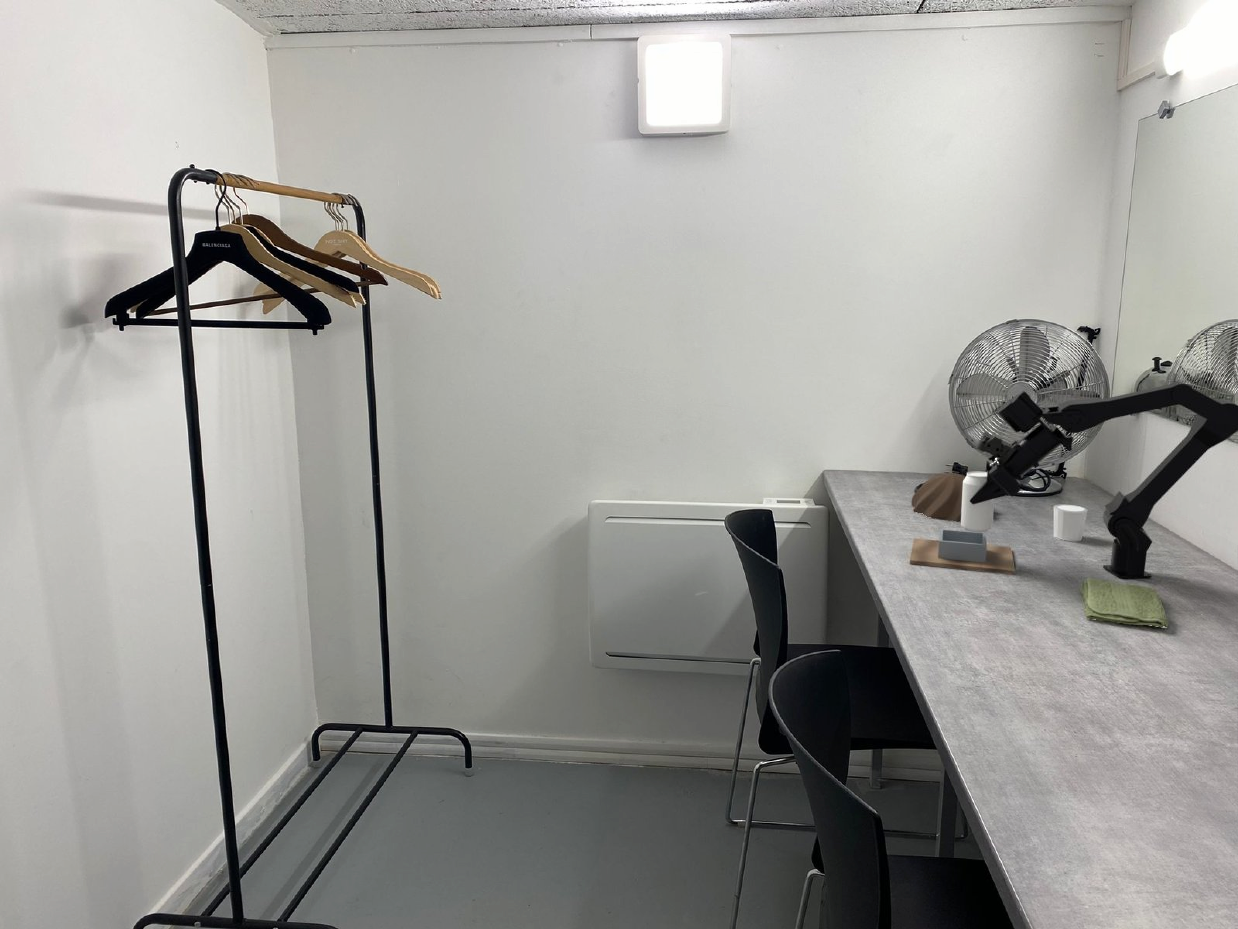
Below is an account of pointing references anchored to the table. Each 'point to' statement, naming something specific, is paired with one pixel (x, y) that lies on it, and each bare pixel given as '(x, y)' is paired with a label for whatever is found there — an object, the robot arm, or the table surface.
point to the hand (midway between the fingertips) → (971, 498)
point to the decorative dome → (940, 497)
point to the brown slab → (995, 560)
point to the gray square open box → (962, 545)
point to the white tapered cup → (1069, 522)
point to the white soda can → (980, 513)
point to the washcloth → (1122, 603)
